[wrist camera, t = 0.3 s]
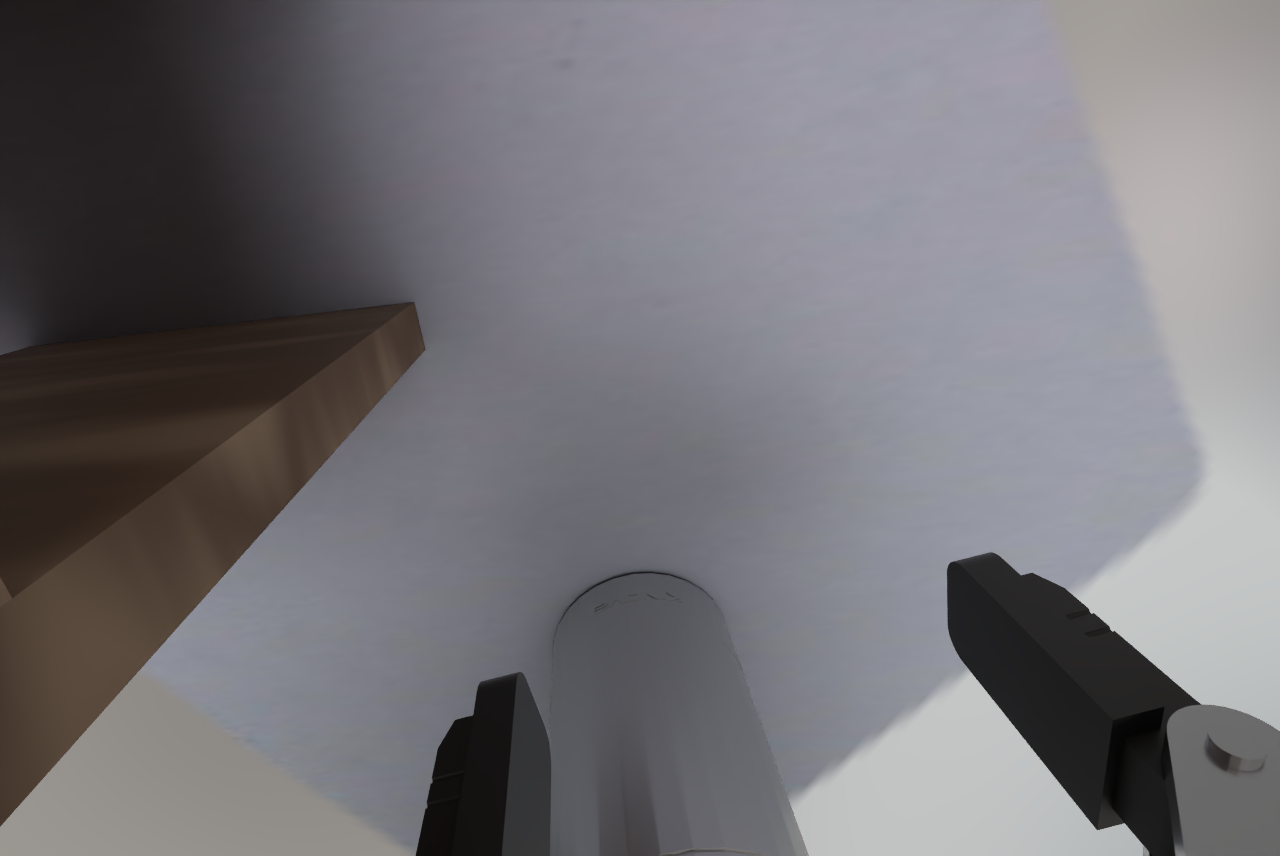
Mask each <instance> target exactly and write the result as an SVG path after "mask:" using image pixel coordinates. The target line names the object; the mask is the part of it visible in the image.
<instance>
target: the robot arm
mask: <svg viewBox="0 0 1280 856" xmlns="http://www.w3.org/2000/svg"><path fill="white" fill-rule="evenodd" d="M947 603H948V630H949V634H950V638H951V641H952V643H953V646H954V648H955V650H956V652H957V654H958V655H959V657H960V658H961V660H962V661H963V662H964V664H965V665H966V666H967V667H968V669H969V670H970V671H971V672H972V674H973V675H974V676H975V677H976V679H977V680H978V681H979V682H980V684H981V685H982V686H983V687H984V689H985V690H986V691H987V692H988V694H989V695H990V696H991V698H992V699H993V700H994V701H995V702H996V704H997V705H998V706H999V708H1000V709H1001V710H1002V711H1003V712H1004V714H1005V715H1006V716H1007V718H1008V719H1009V720H1010V721H1011V723H1012V724H1013V725H1014V726H1015V728H1016V729H1017V730H1018V731H1019V733H1020V734H1021V735H1022V736H1023V738H1024V739H1025V740H1026V741H1027V743H1028V744H1029V745H1030V747H1031V748H1032V749H1033V750H1034V752H1035V753H1036V754H1037V755H1038V757H1040V759H1041V760H1042V761H1043V763H1044V764H1045V765H1046V767H1047V768H1048V769H1049V770H1050V772H1051V773H1052V774H1053V775H1054V777H1055V778H1056V779H1057V780H1058V782H1059V783H1060V784H1061V785H1062V786H1063V788H1064V789H1065V790H1066V792H1067V793H1068V794H1069V795H1070V797H1071V798H1072V799H1073V800H1074V802H1075V803H1076V804H1077V805H1078V807H1079V808H1080V809H1081V810H1082V812H1083V813H1084V814H1085V815H1086V817H1087V818H1088V819H1089V821H1090V822H1091V823H1092V824H1093V825H1094V827H1095V828H1096V829H1097V830H1100V829H1104V828H1108V827H1111V826H1115V825H1119V824H1123V823H1125V824H1126V825H1127V826H1128V828H1129V829H1130V830H1131V831H1132V832H1133V833H1134V834H1135V836H1136V837H1137V838H1138V839H1139V840H1140V842H1141V843H1142V844H1143V845H1144V847H1143V856H1280V731H1278V730H1277V729H1275V728H1274V727H1272V726H1271V725H1269V724H1267V723H1265V722H1263V721H1262V720H1260V719H1257V718H1255V717H1253V716H1251V715H1249V714H1246V713H1243V712H1240V711H1237V710H1234V709H1230V708H1226V707H1221V706H1214V705H1201V704H1200V703H1199V702H1197V701H1196V700H1195V699H1194V698H1192V697H1191V696H1190V695H1189V694H1188V693H1186V692H1185V691H1184V690H1183V689H1182V688H1181V687H1179V686H1178V685H1177V684H1176V683H1175V682H1173V681H1172V680H1171V679H1170V678H1169V677H1168V676H1167V675H1165V674H1164V673H1163V672H1162V671H1161V670H1160V669H1158V668H1157V667H1156V666H1155V665H1154V664H1153V663H1151V662H1150V661H1149V660H1148V659H1147V658H1145V657H1144V656H1143V655H1142V654H1141V653H1140V652H1139V651H1137V650H1136V649H1135V648H1134V647H1133V646H1132V645H1130V644H1129V643H1128V642H1127V641H1125V640H1124V639H1123V638H1122V637H1121V636H1120V635H1118V634H1117V633H1116V632H1115V631H1114V632H1112V631H1111V630H1110V627H1109V626H1108V625H1107V624H1106V623H1104V622H1103V621H1102V620H1101V619H1100V618H1099V617H1098V616H1096V615H1095V614H1094V613H1093V614H1091V613H1090V611H1089V609H1088V608H1087V607H1086V606H1085V605H1084V604H1082V603H1081V602H1080V601H1079V600H1078V599H1077V598H1075V597H1074V596H1073V595H1072V594H1071V593H1070V592H1068V591H1067V590H1066V589H1065V588H1063V587H1061V586H1059V585H1057V584H1055V583H1053V582H1051V581H1048V580H1046V579H1044V578H1042V577H1040V576H1038V575H1036V574H1034V573H1029V574H1025V575H1020V574H1019V573H1017V572H1016V571H1015V570H1014V569H1013V568H1012V567H1011V566H1010V565H1009V564H1008V563H1006V562H1005V561H1004V560H1003V559H1002V558H1001V557H1000V556H998V555H997V554H995V553H986V554H982V555H978V556H974V557H970V558H966V559H962V560H958V561H954V562H951V563H950V564H949V565H948V569H947ZM432 779H433V783H432V784H431V785H430V790H429V795H428V800H427V805H428V807H427V809H425V814H424V819H423V824H422V828H421V833H420V838H419V843H418V848H417V852H416V856H809V855H808V852H807V850H806V847H805V844H804V841H803V838H802V836H801V833H800V830H799V827H798V825H797V822H796V819H795V816H794V813H793V811H792V808H791V805H790V802H789V799H788V797H787V794H786V791H785V788H784V785H783V783H782V780H781V777H780V774H779V772H778V769H777V766H776V763H775V760H774V758H773V755H772V752H771V749H770V746H769V744H768V741H767V738H766V735H765V733H764V730H763V727H762V724H761V721H760V719H759V716H758V713H757V710H756V707H755V705H754V702H753V699H752V696H751V694H750V691H749V688H748V685H747V682H746V680H745V677H744V673H743V670H742V668H741V665H740V662H739V659H738V657H737V654H736V651H735V648H734V646H733V643H732V640H731V637H730V635H729V632H728V629H727V626H726V624H725V621H724V618H723V615H722V613H721V612H720V610H719V609H718V607H717V605H716V604H715V602H714V601H713V600H712V599H711V598H710V597H709V596H708V595H707V594H706V593H705V592H704V591H703V590H701V589H700V588H698V587H696V586H695V585H693V584H691V583H689V582H688V581H685V580H682V579H679V578H676V577H673V576H670V575H662V574H654V573H645V574H631V575H627V576H623V577H618V578H614V579H611V580H609V581H607V582H605V583H602V584H600V585H598V586H596V587H594V588H593V589H591V590H590V591H588V592H587V593H585V594H584V595H582V596H581V597H580V598H579V599H578V600H577V601H576V602H575V603H574V604H573V605H572V606H571V607H570V608H569V609H568V610H567V612H566V613H565V615H564V617H563V618H562V620H561V621H560V623H559V625H558V628H557V631H556V634H555V637H554V644H553V662H552V687H551V704H550V730H549V741H548V736H547V733H546V729H545V727H544V724H543V721H542V719H541V716H540V714H539V711H538V709H537V706H536V703H535V701H534V698H533V696H532V693H531V691H530V688H529V686H528V683H527V680H526V678H525V676H524V674H523V673H522V672H518V673H514V674H510V675H506V676H502V677H498V678H494V679H490V680H486V681H482V682H480V684H479V686H478V690H477V695H476V702H475V708H474V714H473V716H469V717H465V718H461V719H457V720H455V721H454V723H453V724H452V726H451V728H450V729H449V731H448V733H447V734H446V736H445V738H444V739H443V741H442V743H441V744H440V746H439V748H438V751H437V756H436V761H435V766H434V771H433V776H432Z"/></svg>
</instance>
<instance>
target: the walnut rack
mask: <svg viewBox="0 0 1280 856" xmlns="http://www.w3.org/2000/svg"><path fill="white" fill-rule="evenodd" d="M424 350H425V347H424V343H423V339H422V334H421V330H420V325H419V321H418V317H417V312H416V308H415V304H414V302H411V303H403V304H394V305H385V306H377V307H368V308H360V309H351V310H342V311H334V312H325V313H316V314H308V315H299V316H291V317H282V318H273V319H265V320H256V321H247V322H239V323H230V324H222V325H213V326H204V327H196V328H187V329H179V330H170V331H161V332H153V333H144V334H135V335H127V336H118V337H110V338H101V339H92V340H84V341H75V342H66V343H58V344H49V345H41V346H32V347H27V348H24V349H20V350H17V351H14V352H10V353H7V354H3V355H0V826H1V825H2V824H3V823H4V822H5V821H6V819H7V818H8V817H9V816H10V815H11V814H12V813H13V812H14V810H15V809H16V808H17V807H18V806H19V805H20V803H22V801H23V800H24V799H25V798H26V797H27V796H28V795H29V793H30V792H31V791H32V790H33V789H34V788H35V787H36V786H37V785H38V783H39V782H40V781H41V780H42V779H43V778H44V777H45V776H46V774H47V773H48V772H49V771H50V770H51V769H52V768H53V767H54V766H55V764H56V763H57V762H58V761H59V760H60V759H61V758H62V757H63V755H64V754H65V753H66V752H67V751H68V750H69V749H70V748H71V746H72V745H73V744H74V743H75V742H76V741H77V740H78V739H79V737H80V736H81V735H82V734H83V733H84V732H85V731H86V730H87V728H88V727H89V726H90V725H91V724H92V723H93V722H94V721H95V719H96V718H97V717H98V716H99V715H100V714H101V713H102V711H104V709H105V708H106V707H107V706H108V705H109V704H110V703H111V701H112V700H113V699H114V698H115V697H116V696H117V695H118V694H119V693H120V691H121V690H122V689H123V688H124V687H125V686H126V685H127V684H128V682H129V681H130V680H131V679H132V678H133V677H134V676H135V675H136V673H137V672H138V671H139V670H140V669H141V668H142V667H143V666H144V665H145V663H146V662H147V661H148V660H149V659H150V658H151V657H152V656H153V654H154V653H155V652H156V651H157V650H158V649H159V648H160V647H161V645H162V644H163V643H164V642H165V641H166V640H167V639H168V638H169V636H170V635H171V634H172V633H173V632H174V631H175V630H176V629H177V627H178V626H179V625H180V624H181V623H182V622H183V621H184V620H185V618H186V617H187V616H188V615H189V614H190V613H191V612H192V611H193V610H194V608H195V607H196V606H197V605H198V604H199V603H200V602H201V601H202V599H203V598H204V597H205V596H206V595H207V594H208V593H209V592H210V590H211V589H212V588H213V587H214V586H215V585H216V584H217V583H218V581H219V580H220V579H221V578H222V577H223V576H224V575H225V574H226V572H227V571H228V570H229V569H230V568H231V567H232V566H233V565H234V563H235V562H236V561H237V560H238V559H239V558H240V557H241V556H242V555H243V553H244V552H245V551H246V550H247V549H248V548H249V547H250V546H251V544H252V543H253V542H254V541H255V540H256V539H257V538H258V537H259V535H260V534H261V533H262V532H263V531H264V530H265V529H266V528H267V526H268V525H269V524H270V523H271V522H272V521H273V520H274V519H275V517H276V516H277V515H278V514H279V513H280V512H281V511H282V510H283V508H284V507H285V506H286V505H287V504H288V503H289V502H290V501H291V500H292V498H293V497H294V496H295V495H296V494H297V493H298V492H299V491H300V489H301V488H302V487H303V486H304V485H305V484H306V483H307V482H308V480H309V479H310V478H311V477H312V476H313V475H314V474H315V473H316V471H317V470H318V469H319V468H320V467H321V466H322V465H323V464H324V462H325V461H326V460H327V459H328V458H329V457H330V456H331V455H332V453H333V452H334V451H335V450H336V449H337V448H338V447H339V446H340V444H341V443H342V442H343V441H344V440H345V439H346V438H347V437H348V436H349V434H350V433H351V432H352V431H353V430H354V429H355V428H356V427H357V425H358V424H359V423H360V422H361V421H362V420H363V419H364V418H365V416H366V415H367V414H368V413H369V412H370V411H371V410H372V409H373V407H374V406H375V405H376V404H377V403H378V402H379V401H380V400H381V398H382V397H383V396H384V395H385V394H386V393H387V392H388V391H389V389H390V388H391V387H392V386H393V385H394V384H395V383H396V382H397V381H398V379H399V378H400V377H401V376H402V375H403V374H404V373H405V372H406V370H407V369H408V368H409V367H410V366H411V365H412V364H413V363H414V361H415V360H416V359H417V358H418V357H419V356H420V355H421V354H422V352H423V351H424Z"/></svg>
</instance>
